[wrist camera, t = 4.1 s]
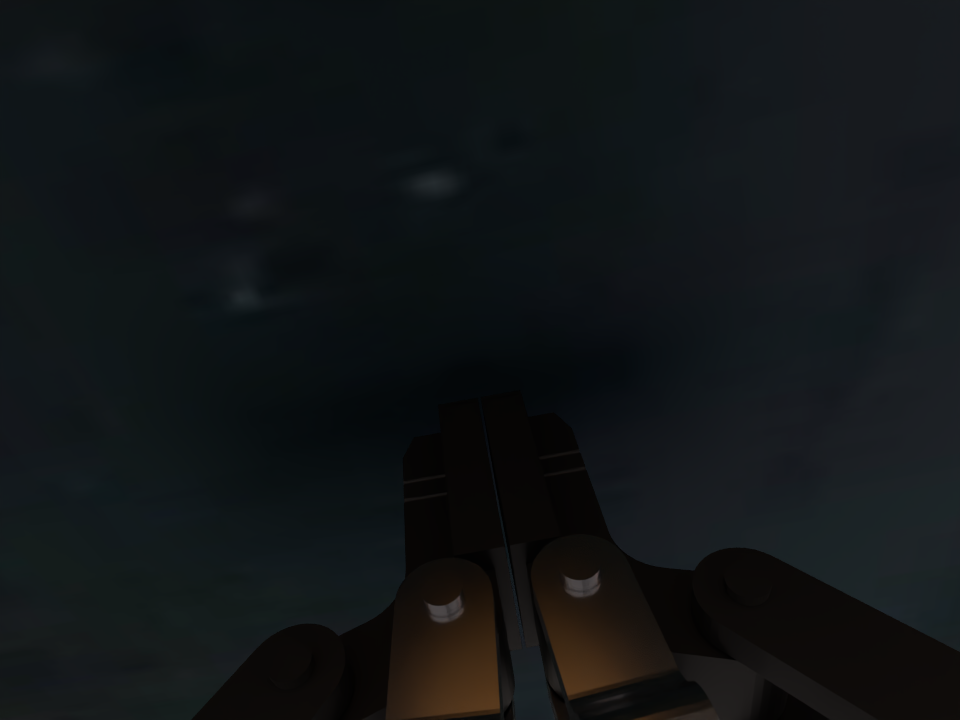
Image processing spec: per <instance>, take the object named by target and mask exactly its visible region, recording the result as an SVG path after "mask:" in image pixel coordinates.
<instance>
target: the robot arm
mask: <svg viewBox="0 0 960 720" xmlns="http://www.w3.org/2000/svg"><path fill="white" fill-rule="evenodd" d="M481 401H482V407H483V413H484V419H485V425H486V431H487V437H488V443H489V449H490V455H491V461H492V467H493V472H494V478H495V484H496V489H497V495H498V500H499V505H500V510H501V516H502V521H503V526H504V532H505V537H506V542H507V548H508V553H509V558H510V564H511V569H512V574H513V580H514V585H515V590H516V595H517V601H518V606H519V611H520V617H521V622H522V627H523V633H524V638H525V643H526V648H527V647H532V646H538V645H539V646H540V651H541V656H542V661H543V666H544V671H545V677H546V684H547V690H548V696H549V699H550V703H551V706H552V710H553V713H554V717H555V720H960V652H959V651H957V650H955V649H953V648H951V647H949V646H947V645H945V644H943V643H941V642H939V641H937V640H935V639H933V638H931V637H929V636H927V635H925V634H923V633H922V632H920V631H918V630H916V629H914V628H912V627H910V626H908V625H906V624H904V623H902V622H900V621H898V620H896V619H894V618H892V617H890V616H888V615H886V614H884V613H882V612H881V611H879V610H877V609H875V608H873V607H871V606H869V605H867V604H865V603H863V602H861V601H859V600H857V599H855V598H853V597H851V596H849V595H847V594H845V593H843V592H841V591H839V590H838V589H836V588H834V587H832V586H830V585H828V584H826V583H824V582H822V581H820V580H818V579H816V578H814V577H812V576H810V575H808V574H806V573H804V572H802V571H800V570H798V569H797V568H795V567H793V566H791V565H789V564H787V563H785V562H783V561H781V560H779V559H777V558H775V557H773V556H771V555H769V554H766V553H764V552H761V551H757V550H754V549H748V548H727V549H722V550H719V551H716V552H714V553H711V554H710V555H708V556H706V557H705V558H704V559H703V560H702V561H701V562H700V563H699V564H698V566H697V567H696V569H695V571H691V570H681V569H670V568H662V567H655V566H651V565H648V564H644V563H642V562H640V561H637V560H635V559H633V558H632V557H630V556H628V555H627V554H626V553H624V552H623V551H622V550H621V549H620V548H619V547H618V546H617V545H616V544H615V542H614V541H613V540H612V538H611V536H610V534H609V531H608V529H607V526H606V523H605V520H604V517H603V515H602V512H601V509H600V506H599V503H598V501H597V498H596V495H595V492H594V489H593V487H592V484H591V481H590V478H589V476H588V473H587V470H586V469H585V464H584V462H583V459H582V456H581V453H580V452H579V448H578V445H577V442H576V439H575V436H574V434H573V431H572V428H571V427H569V426H568V425H567V424H566V423H565V422H564V421H563V420H562V419H560V418H559V417H558V416H557V415H556V414H555V413H548V414H543V415H537V416H532V417H528V416H527V413H526V409H525V406H524V402H523V398H522V395H521V392H520V390H518V391H513V392H507V393H501V394H496V395H490V396H485V397H481ZM438 408H439V418H440V428H441V433H437V434H431V435H426V436H420V437H414V439H413V441H412V442H411V444H410V446H409V448H408V450H407V452H406V454H405V456H404V458H403V479H404V501H405V503H404V517H405V555H406V574H405V579H404V581H403V582H402V584H401V585H400V587H399V589H398V591H397V594H396V598H395V600H394V601H393V602H392V603H391V605H390V606H389V607H388V608H387V609H385V610H384V611H383V612H382V613H381V614H379V615H378V616H377V617H375V618H374V619H372V620H370V621H368V622H366V623H364V624H362V625H360V626H358V627H356V628H354V629H352V630H350V631H348V632H346V633H344V634H342V635H340V636H338V635H337V634H336V633H335V632H333V631H332V630H330V629H329V628H327V627H324V626H322V625H317V624H300V625H295V626H292V627H288V628H286V629H283V630H281V631H279V632H277V633H276V634H274V635H272V636H271V637H269V638H268V639H267V640H265V641H264V642H263V643H262V644H261V645H260V646H259V647H258V648H257V649H256V650H255V651H254V652H253V653H252V654H251V655H250V657H249V658H248V659H247V660H246V661H245V662H244V663H243V664H242V665H241V666H240V667H239V669H238V670H237V671H236V672H235V673H234V674H233V675H232V676H231V677H230V678H229V679H228V681H227V682H226V683H225V684H224V685H223V686H222V687H221V688H220V689H219V690H218V691H217V693H216V694H215V695H214V696H213V697H212V698H211V699H210V700H209V701H208V702H207V703H206V705H205V706H204V707H203V708H202V709H201V710H200V711H199V712H198V713H197V714H196V715H195V717H194V718H193V719H192V720H516V718H515V705H514V698H513V694H514V688H515V681H514V674H513V667H512V661H511V655H510V651H512V650H518V649H522V645H521V639H520V633H519V627H518V621H517V616H516V610H515V604H514V598H513V592H512V586H511V580H510V574H509V568H508V563H507V557H506V551H505V545H504V540H503V534H502V529H501V523H500V518H499V512H498V507H497V502H496V496H495V491H494V485H493V480H492V474H491V469H490V464H489V458H488V453H487V447H486V442H485V436H484V431H483V426H482V420H481V415H480V409H479V404H478V399H477V398H474V399H468V400H463V401H457V402H452V403H446V404H440V405H438Z"/></svg>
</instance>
